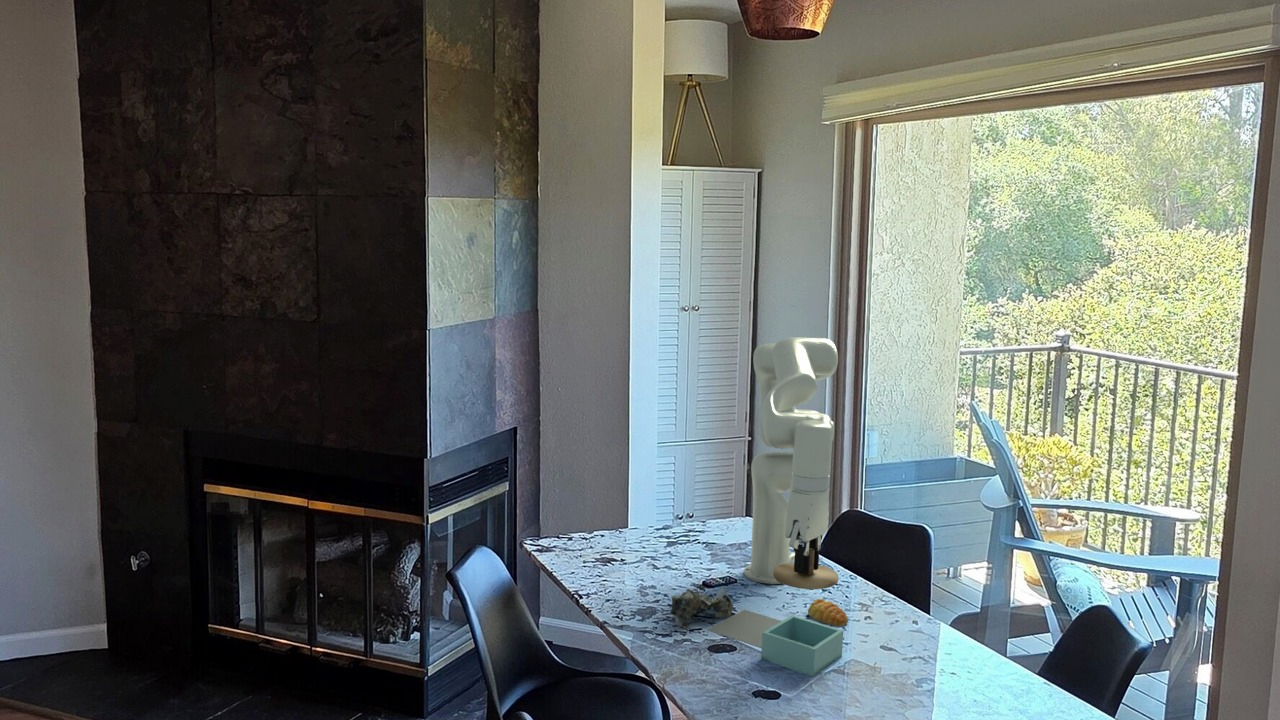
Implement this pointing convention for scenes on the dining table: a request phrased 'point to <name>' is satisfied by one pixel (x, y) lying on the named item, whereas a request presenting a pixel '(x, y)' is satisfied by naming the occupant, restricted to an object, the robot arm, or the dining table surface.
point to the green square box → (802, 645)
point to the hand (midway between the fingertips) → (806, 569)
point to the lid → (813, 580)
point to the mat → (745, 627)
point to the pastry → (827, 613)
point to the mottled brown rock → (699, 605)
